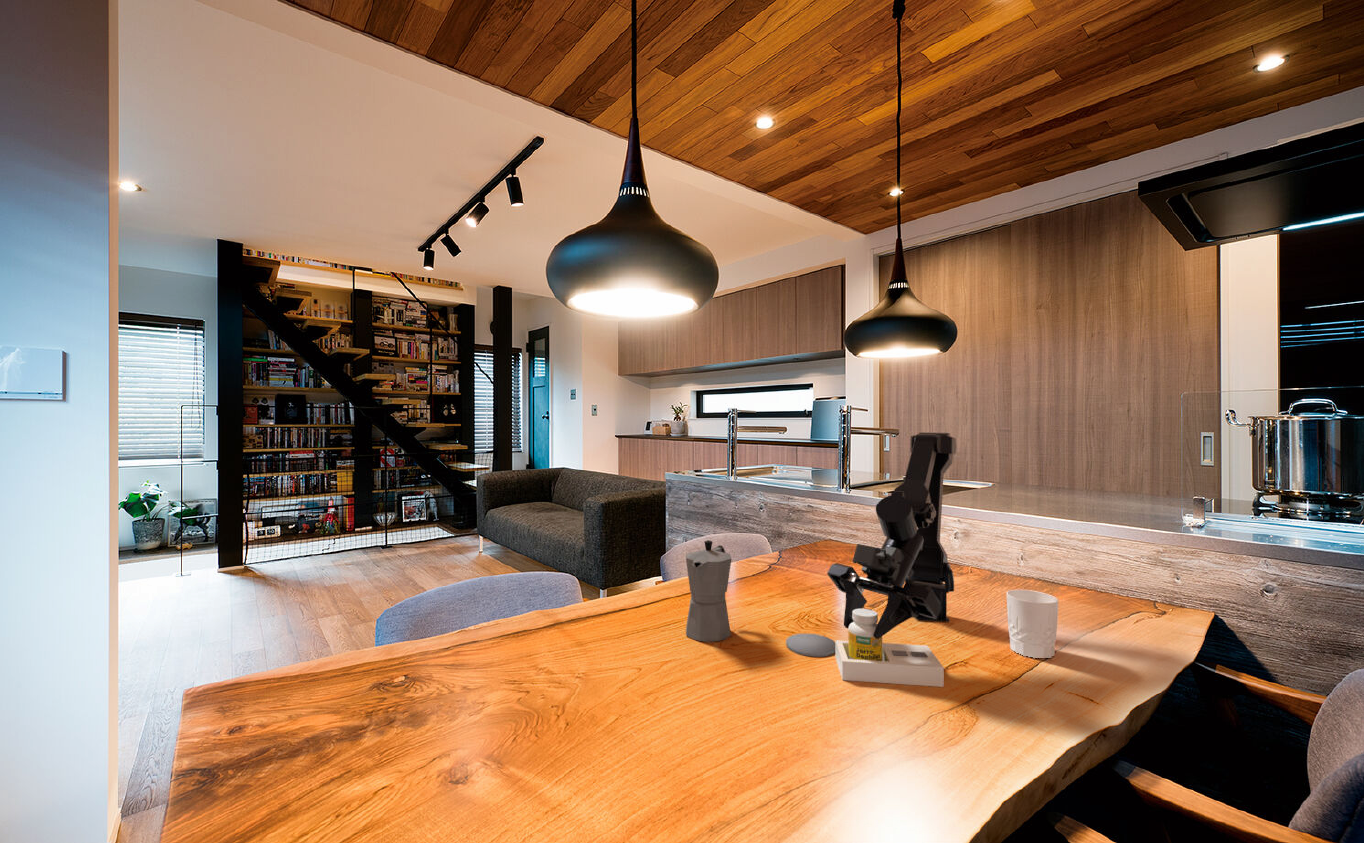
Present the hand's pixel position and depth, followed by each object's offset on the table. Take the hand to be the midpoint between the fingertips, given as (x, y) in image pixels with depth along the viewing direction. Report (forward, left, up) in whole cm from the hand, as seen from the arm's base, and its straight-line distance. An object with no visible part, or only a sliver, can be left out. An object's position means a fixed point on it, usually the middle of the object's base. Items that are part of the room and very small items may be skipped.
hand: (860, 632), depth 91 cm
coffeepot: (+26, -14, -7) cm, 30 cm away
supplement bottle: (-1, -1, -7) cm, 7 cm away
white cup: (-32, -13, -7) cm, 35 cm away
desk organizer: (-4, -1, -7) cm, 8 cm away
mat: (+7, -10, -7) cm, 13 cm away
